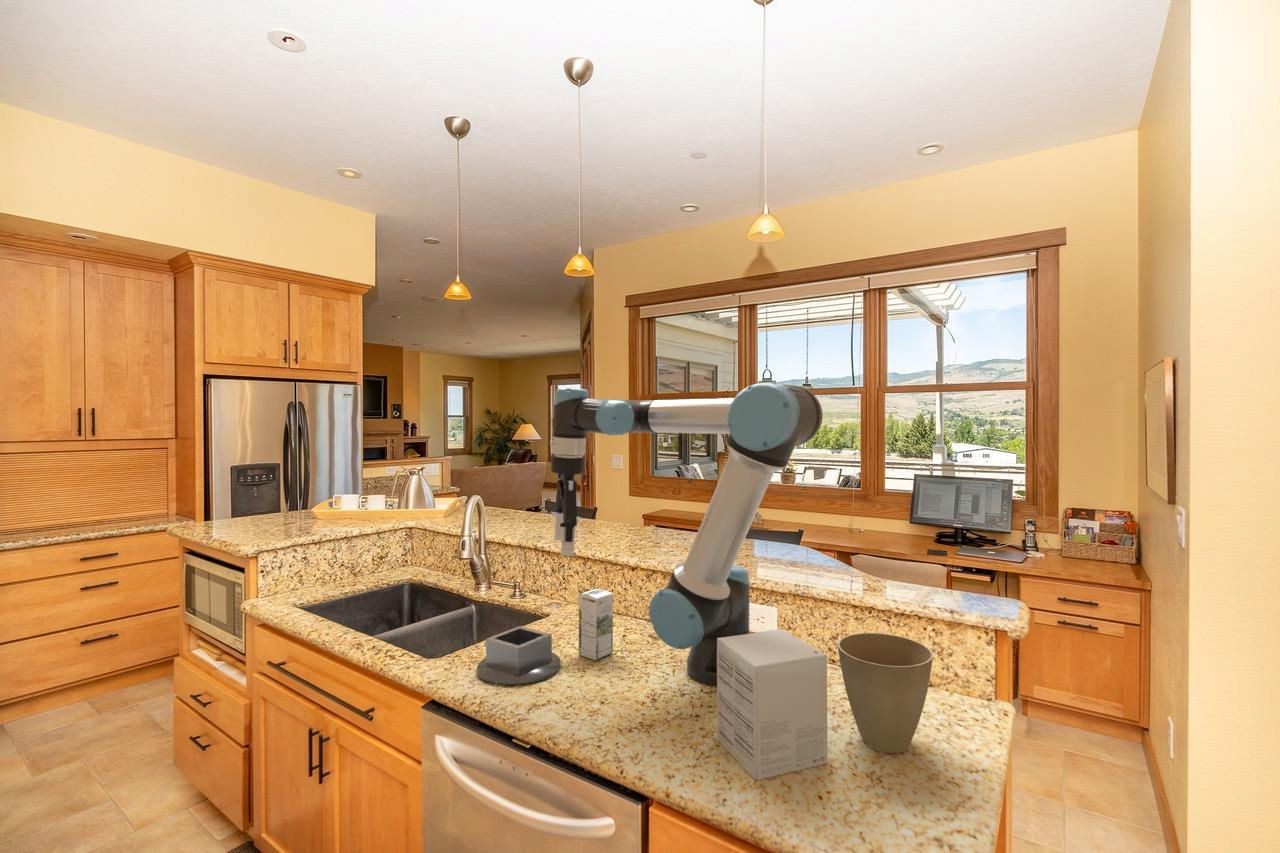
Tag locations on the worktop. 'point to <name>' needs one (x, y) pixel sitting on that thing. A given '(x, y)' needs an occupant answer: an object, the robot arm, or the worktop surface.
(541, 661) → the duct collar
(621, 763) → the worktop surface
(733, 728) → the supplement box
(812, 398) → the robot arm
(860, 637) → the plant pot
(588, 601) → the syrup box
